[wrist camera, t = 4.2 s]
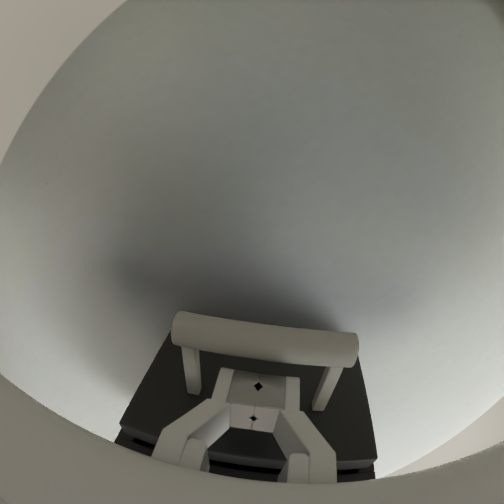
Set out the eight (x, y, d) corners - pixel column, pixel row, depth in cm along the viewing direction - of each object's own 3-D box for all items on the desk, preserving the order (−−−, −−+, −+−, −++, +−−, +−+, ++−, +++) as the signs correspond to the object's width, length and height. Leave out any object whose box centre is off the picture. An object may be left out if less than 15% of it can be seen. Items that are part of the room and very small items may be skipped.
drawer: (171, 252, 15) (83, 351, 7) (377, 278, 14) (433, 397, 6) (191, 423, 22) (167, 493, 15) (309, 439, 21) (306, 513, 14)
